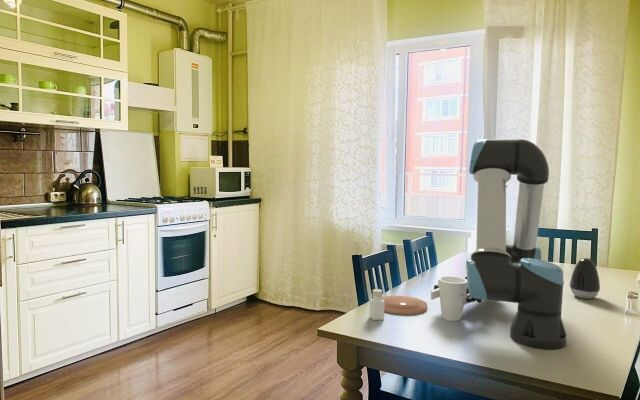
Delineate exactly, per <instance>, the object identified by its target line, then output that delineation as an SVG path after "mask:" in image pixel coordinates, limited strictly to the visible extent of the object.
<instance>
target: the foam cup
mask: <svg viewBox="0 0 640 400" xmlns="http://www.w3.org/2000/svg"><path fill="white" fill-rule="evenodd" d="M437 285H438V286H439V293H440V297H439V301H440V303H439V304H440V312H441V318H442V319H443V320H445V321H449V322H458V321H461V320H462V318H463V313H464V306H465V305H464V306H460V297H462V296H464V295H466V291H467V288H468V283H467V279H465V277H461V276H456V275H444V276H439V277H438V279H437Z"/></svg>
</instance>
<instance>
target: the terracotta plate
mask: <svg viewBox="0 0 640 400" xmlns="http://www.w3.org/2000/svg"><path fill="white" fill-rule="evenodd" d="M382 299H383V300H384V302H385V305H384V313H388V314H391V315H392V314H393V315H401V316H402V315H403V316H411V315H413V316H414V315H420V314H423V313H424V312H427V310H428V303H427V302H426V301H425V300H423V299H420V298H418V297H413V296H408V295H387V296H386V295H385V296H382Z"/></svg>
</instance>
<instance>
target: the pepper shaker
mask: <svg viewBox="0 0 640 400" xmlns="http://www.w3.org/2000/svg"><path fill="white" fill-rule="evenodd" d="M371 296H372V298H370V299H369V317H370V318H371V319H372V320H373V321H380V320H384V319H385V312H384V305H385V302H384V300H383V299H382V297H383V289H380V288H374V289H372V295H371Z"/></svg>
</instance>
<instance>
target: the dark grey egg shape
mask: <svg viewBox="0 0 640 400" xmlns="http://www.w3.org/2000/svg"><path fill="white" fill-rule="evenodd" d="M569 287H570V291H571V293H572V294H573V295H574V296H575V297H577V298H579V299H586V300H590V299H594V298H596V297H597V296H598V294H599V292H600V291H601V283H600V277H599V272H598V269H597V266H596V264H595V262H593V260H592V258H581V259H580V260H579V261H578V262H577V263H576V265H575V266H574V269H573V272H572V274H571V277H570V282H569Z"/></svg>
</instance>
